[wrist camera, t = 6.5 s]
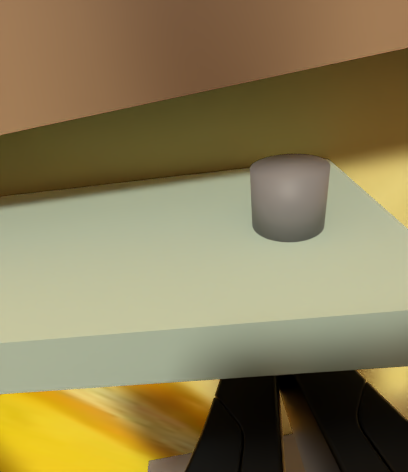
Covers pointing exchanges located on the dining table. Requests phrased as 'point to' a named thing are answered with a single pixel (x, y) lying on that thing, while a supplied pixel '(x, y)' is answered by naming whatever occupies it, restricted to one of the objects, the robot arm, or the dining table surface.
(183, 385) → the dining table surface
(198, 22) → the bar
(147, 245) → the door
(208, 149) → the dining table surface
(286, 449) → the grey block
